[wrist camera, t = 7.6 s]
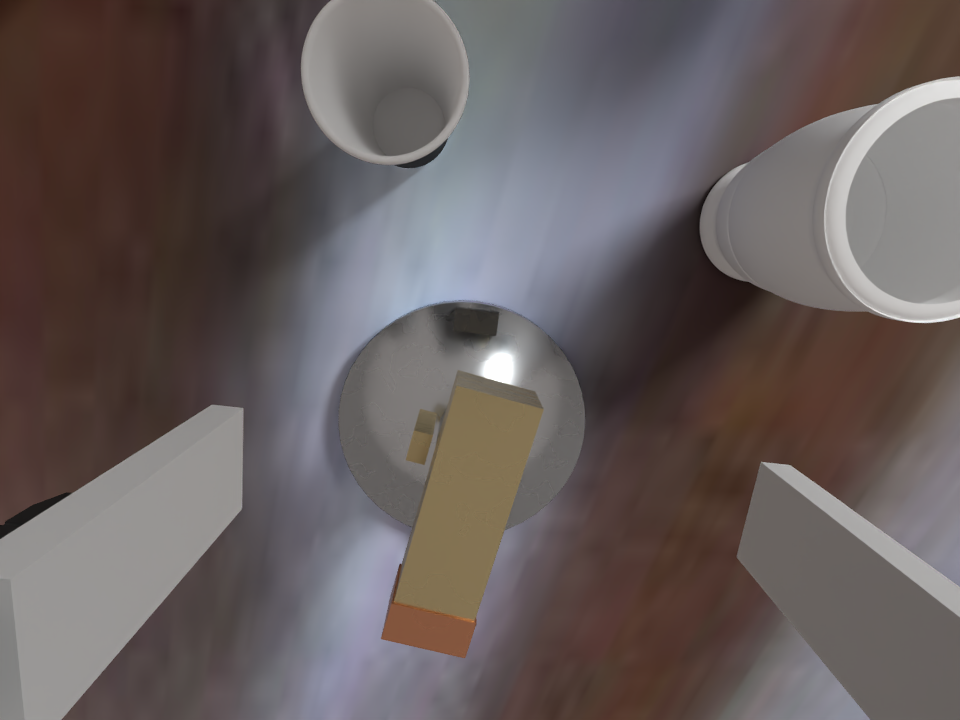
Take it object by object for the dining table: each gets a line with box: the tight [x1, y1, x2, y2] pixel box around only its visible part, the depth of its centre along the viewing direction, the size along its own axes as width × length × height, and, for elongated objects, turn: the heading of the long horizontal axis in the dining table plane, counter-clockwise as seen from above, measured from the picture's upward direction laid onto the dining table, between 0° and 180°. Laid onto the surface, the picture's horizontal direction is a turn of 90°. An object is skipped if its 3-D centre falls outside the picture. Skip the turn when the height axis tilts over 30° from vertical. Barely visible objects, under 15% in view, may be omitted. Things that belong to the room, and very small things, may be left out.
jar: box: [700, 77, 960, 323], centre depth 30 cm, size 11×10×15 cm
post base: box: [339, 300, 585, 530], centre depth 35 cm, size 18×18×8 cm
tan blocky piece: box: [381, 370, 544, 658], centre depth 30 cm, size 7×13×13 cm, turn 164°
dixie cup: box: [301, 0, 470, 168], centre depth 30 cm, size 8×8×11 cm
